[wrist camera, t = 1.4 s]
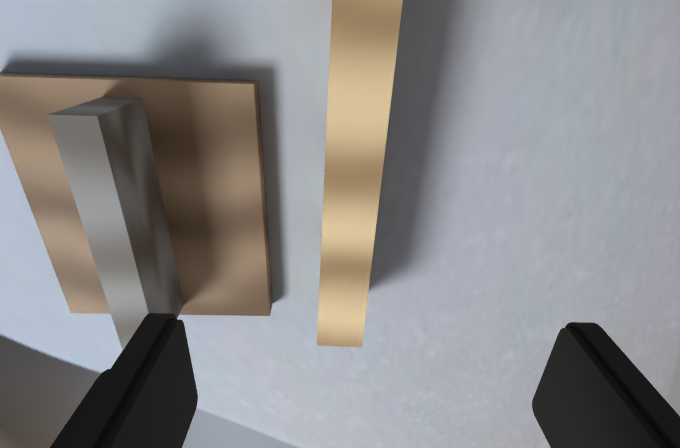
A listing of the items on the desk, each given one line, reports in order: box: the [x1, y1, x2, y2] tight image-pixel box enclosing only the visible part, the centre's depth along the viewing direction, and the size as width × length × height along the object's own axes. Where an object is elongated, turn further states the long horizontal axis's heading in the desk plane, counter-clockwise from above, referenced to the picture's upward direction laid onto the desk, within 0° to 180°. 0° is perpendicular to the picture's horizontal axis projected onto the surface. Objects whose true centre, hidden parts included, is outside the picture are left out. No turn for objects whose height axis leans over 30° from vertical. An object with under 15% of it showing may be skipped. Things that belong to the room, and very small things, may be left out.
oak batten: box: [317, 0, 403, 347], centre depth 24 cm, size 26×3×6 cm, turn 177°
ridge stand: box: [0, 73, 272, 350], centre depth 25 cm, size 18×16×6 cm
